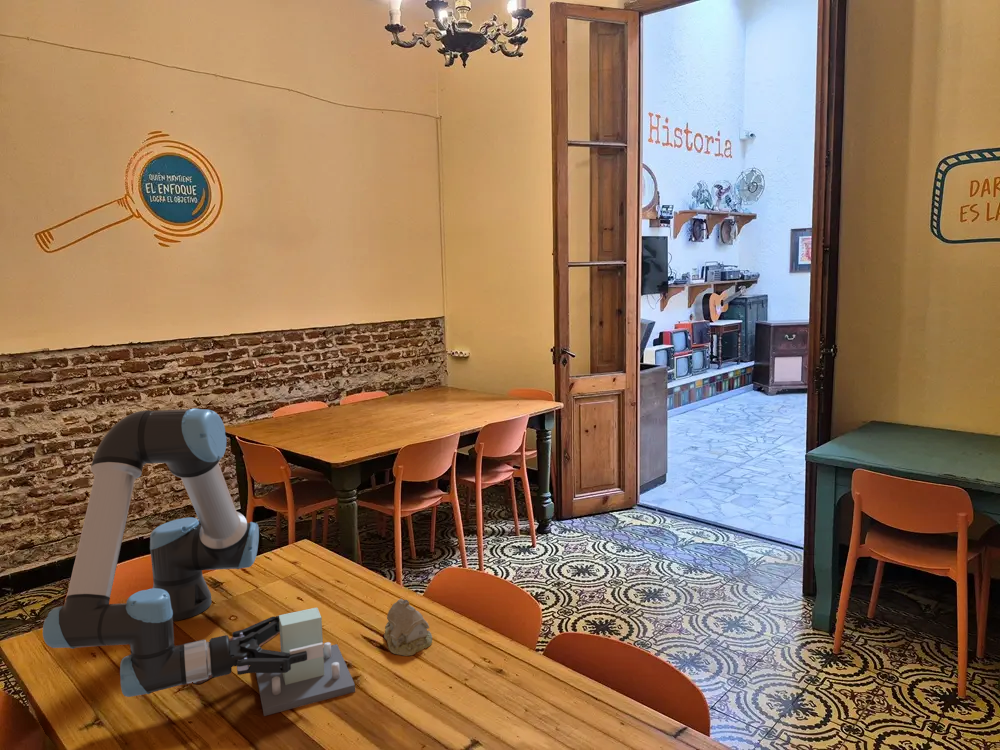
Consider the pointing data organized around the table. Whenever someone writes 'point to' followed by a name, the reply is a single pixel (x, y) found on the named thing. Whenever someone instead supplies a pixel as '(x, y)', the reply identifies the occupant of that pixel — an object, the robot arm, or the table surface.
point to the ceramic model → (406, 629)
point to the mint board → (301, 642)
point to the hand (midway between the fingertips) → (317, 634)
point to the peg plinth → (306, 685)
